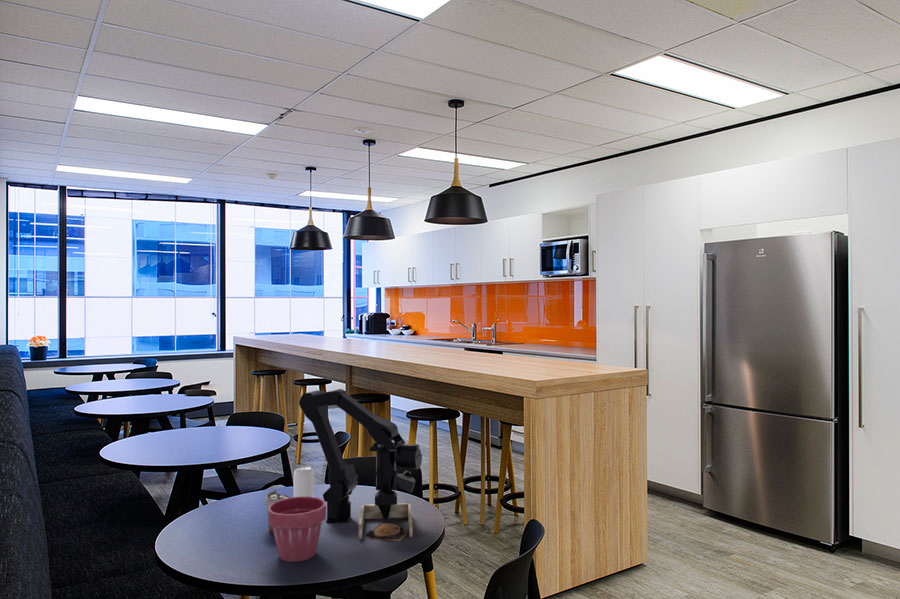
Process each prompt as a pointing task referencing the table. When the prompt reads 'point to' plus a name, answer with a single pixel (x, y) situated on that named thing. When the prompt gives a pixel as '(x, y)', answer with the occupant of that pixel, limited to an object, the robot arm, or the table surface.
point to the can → (304, 481)
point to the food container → (271, 499)
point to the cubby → (374, 513)
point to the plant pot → (297, 526)
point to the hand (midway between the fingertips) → (386, 520)
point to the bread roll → (387, 532)
